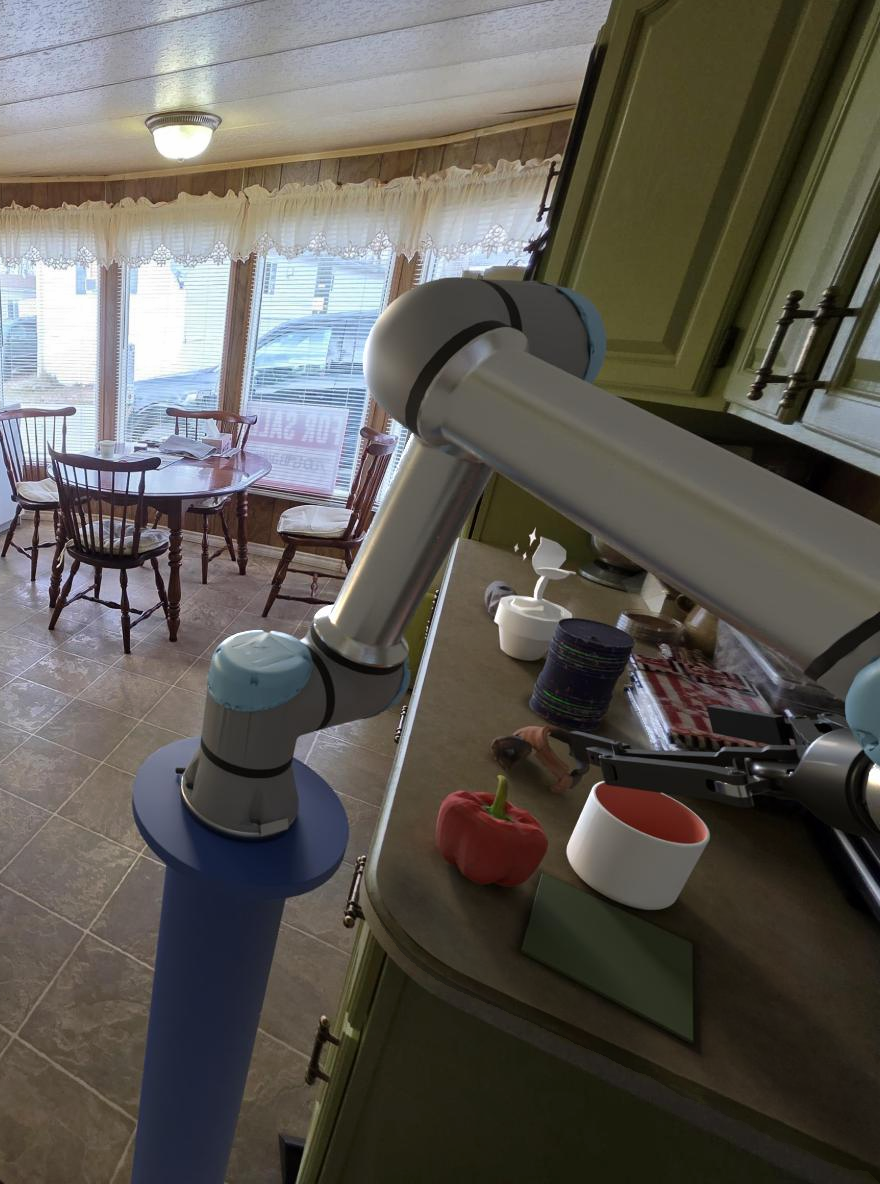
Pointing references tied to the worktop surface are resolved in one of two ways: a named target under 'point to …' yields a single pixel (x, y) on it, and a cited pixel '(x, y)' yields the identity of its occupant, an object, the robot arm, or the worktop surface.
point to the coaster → (613, 955)
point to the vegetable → (490, 837)
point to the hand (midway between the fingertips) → (643, 731)
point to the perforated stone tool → (497, 595)
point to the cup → (636, 845)
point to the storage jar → (581, 673)
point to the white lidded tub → (533, 607)
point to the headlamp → (540, 753)
